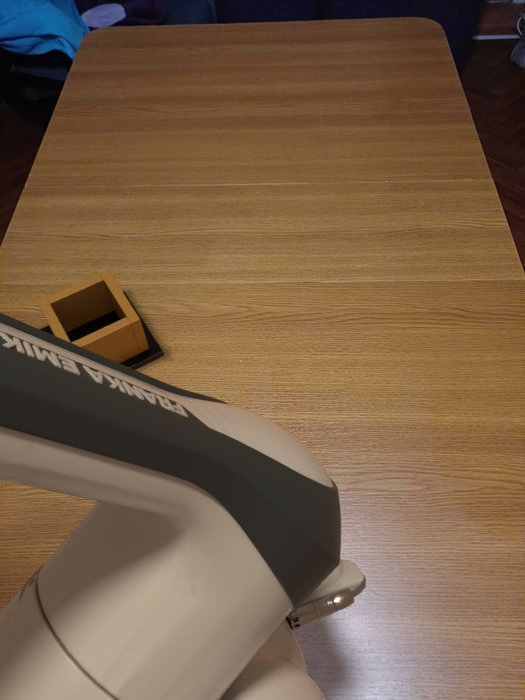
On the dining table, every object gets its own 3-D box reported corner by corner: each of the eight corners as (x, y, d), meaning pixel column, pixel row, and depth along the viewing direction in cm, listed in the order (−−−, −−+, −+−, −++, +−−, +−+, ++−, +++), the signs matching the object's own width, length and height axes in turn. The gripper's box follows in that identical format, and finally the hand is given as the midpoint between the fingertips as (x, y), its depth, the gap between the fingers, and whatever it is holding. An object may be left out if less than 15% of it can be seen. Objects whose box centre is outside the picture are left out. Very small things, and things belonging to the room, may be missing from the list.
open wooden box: (75, 399, 74) (58, 367, 69) (41, 333, 80) (23, 299, 75) (164, 355, 77) (154, 321, 72) (125, 294, 84) (113, 259, 78)
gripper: (365, 546, 38) (300, 476, 52) (36, 676, 35) (58, 564, 48) (388, 633, 40) (319, 543, 53) (72, 768, 36) (84, 634, 49)
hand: (193, 554), depth 50 cm, fingers closed on box, 5 cm apart
